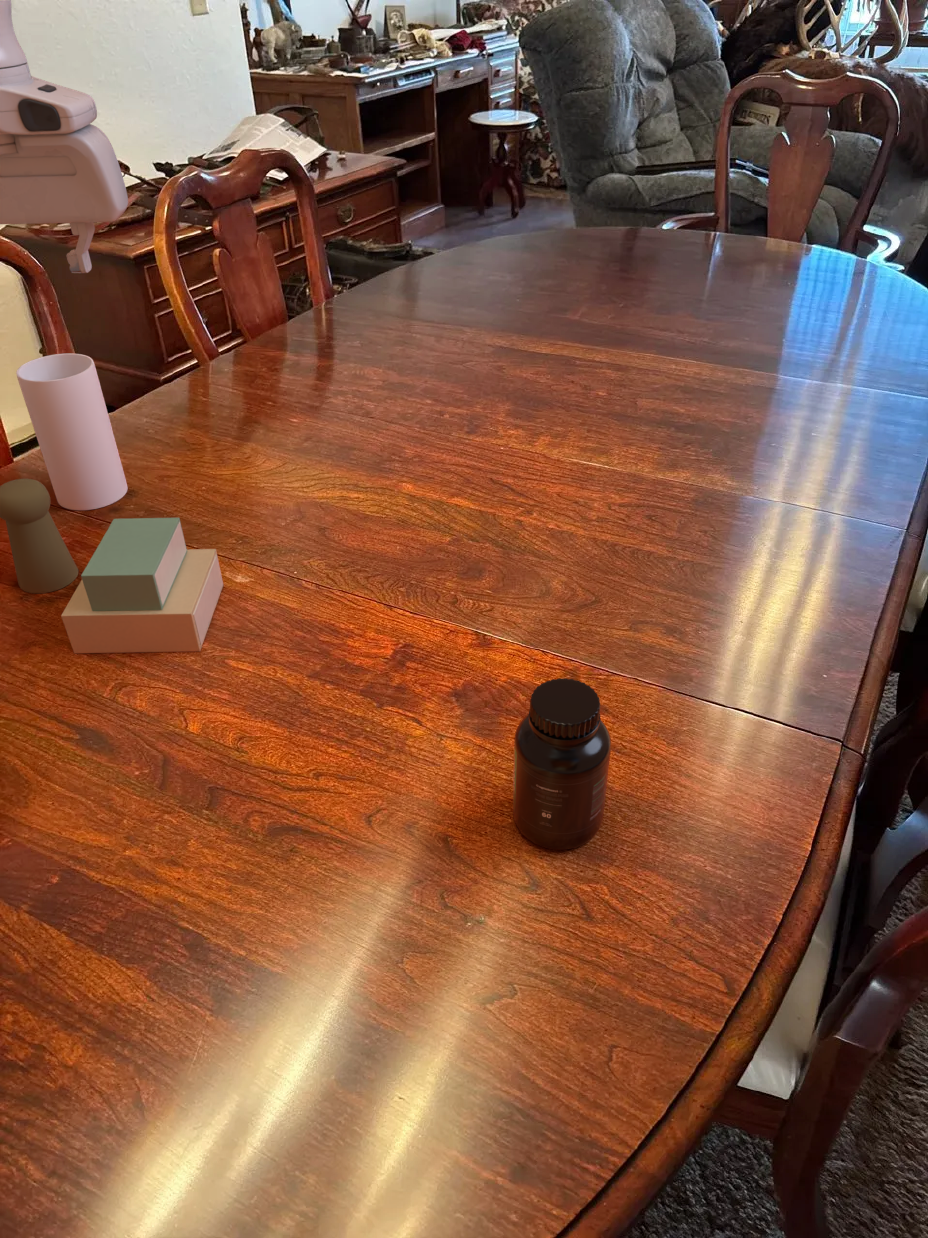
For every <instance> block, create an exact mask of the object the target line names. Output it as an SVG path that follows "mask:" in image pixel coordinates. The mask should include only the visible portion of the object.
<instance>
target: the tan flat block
mask: <svg viewBox="0 0 928 1238" xmlns="http://www.w3.org/2000/svg"><path fill="white" fill-rule="evenodd" d="M222 575H223V574H222V570H221V566H220V562H219V556H218V553H217V548H198V549H197V548H192V549H188V548H187V553H186V555H185V558H184V560H183V562H182V565H181V567H180V569H179V572H178V574H177V576H176V579H175V581H174V583H173V586H172V588H171V590H170V593H169V595H168V597H167V600H166V602H165V604H164V607H163V609H162V610H130V611H92V608H91V605H90V602H89V599H88V596H87V593H86V590H85V587H84V584H83V581H82V579H81V580H80V582H79V583H78V585H77V587H76V588H75V591H74V592H73V594H72V596H71V598H70V600H69V601H68V602H67V605H66V606H65V608H64V610H63V612H62V613H61V615H60V617H61V620H62V623H63V626H64V629H65V631H66V634H67V637H68V640H69V643H70V645H71V649H72V652H73V654H118V653H119V654H120V653H121V654H123V653H125V654H127V653H128V654H129V653H130V654H131V653H173V652H174V653H177V652H178V653H184V652H185V653H186V652H190V653H191V652H201V650H202V648H203V645H204V642H205V638H206V637H207V634H208V630H209V628H210V625H211V622H212V619H213V616H214V613H215V611H216V608H217V604H218V602H219V599H220V596H221V593H222V591H223V588H224V581H223V576H222Z"/></svg>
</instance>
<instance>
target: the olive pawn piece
mask: <svg viewBox="0 0 928 1238" xmlns="http://www.w3.org/2000/svg"><path fill="white" fill-rule="evenodd" d="M50 496H51V495H50V493H49V491H48V489H47V487H46V486H45V485H44V484H43V483H42V482H41V481H38V480H37V479H32V478H17V479H12V480H9V481H7V482H5V483H3V484H1V485H0V519H2V520H3V521H5V525H6V529H7V535H8V540H9V544H10V550H11V554H12V559H13V565H14V570H15V574H16V579H17V584H18V586H19V588H20V590H22V591H24V592H25V593H29V594H47V593H52V592H55V591H59V590H62V589H63V588H65V587H68V586H69V585H70V584H72V583H73V582H74V581H75V580H76V579H77V577H78V575H79V568H78V566H77V564H76V562H75V561H74V558H73V557H72V554H71V553H70V551H69V548H68V546H67V544H66V543H65V541H64V539H63V537H62V535H61V533H60V531H59V529H58V527H57V525H56V523H55V520H54V519H53V517H52V515H51V513H50V511H49V510H50V507H51V497H50Z"/></svg>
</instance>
